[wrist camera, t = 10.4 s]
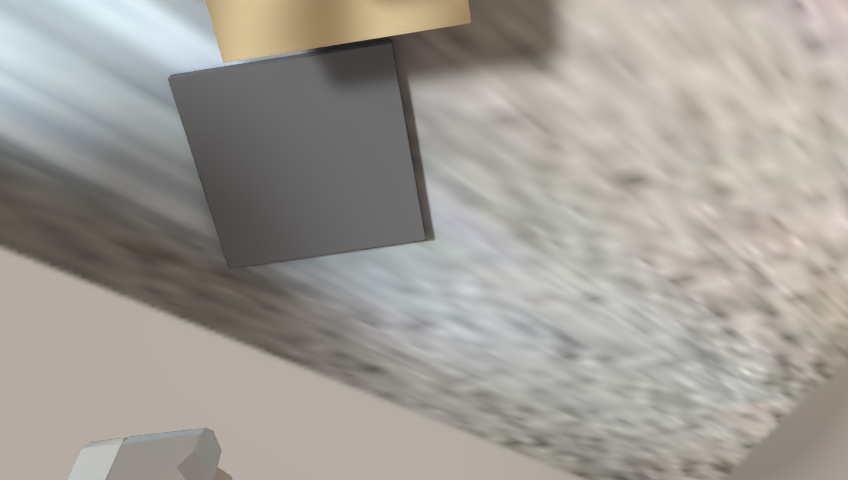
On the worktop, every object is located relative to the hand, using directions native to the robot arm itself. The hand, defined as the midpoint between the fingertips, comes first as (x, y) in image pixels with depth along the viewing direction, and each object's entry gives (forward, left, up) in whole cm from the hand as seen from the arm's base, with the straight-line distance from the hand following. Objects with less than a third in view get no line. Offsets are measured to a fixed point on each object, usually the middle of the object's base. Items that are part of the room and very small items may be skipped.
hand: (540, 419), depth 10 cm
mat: (-8, -9, -31) cm, 33 cm away
